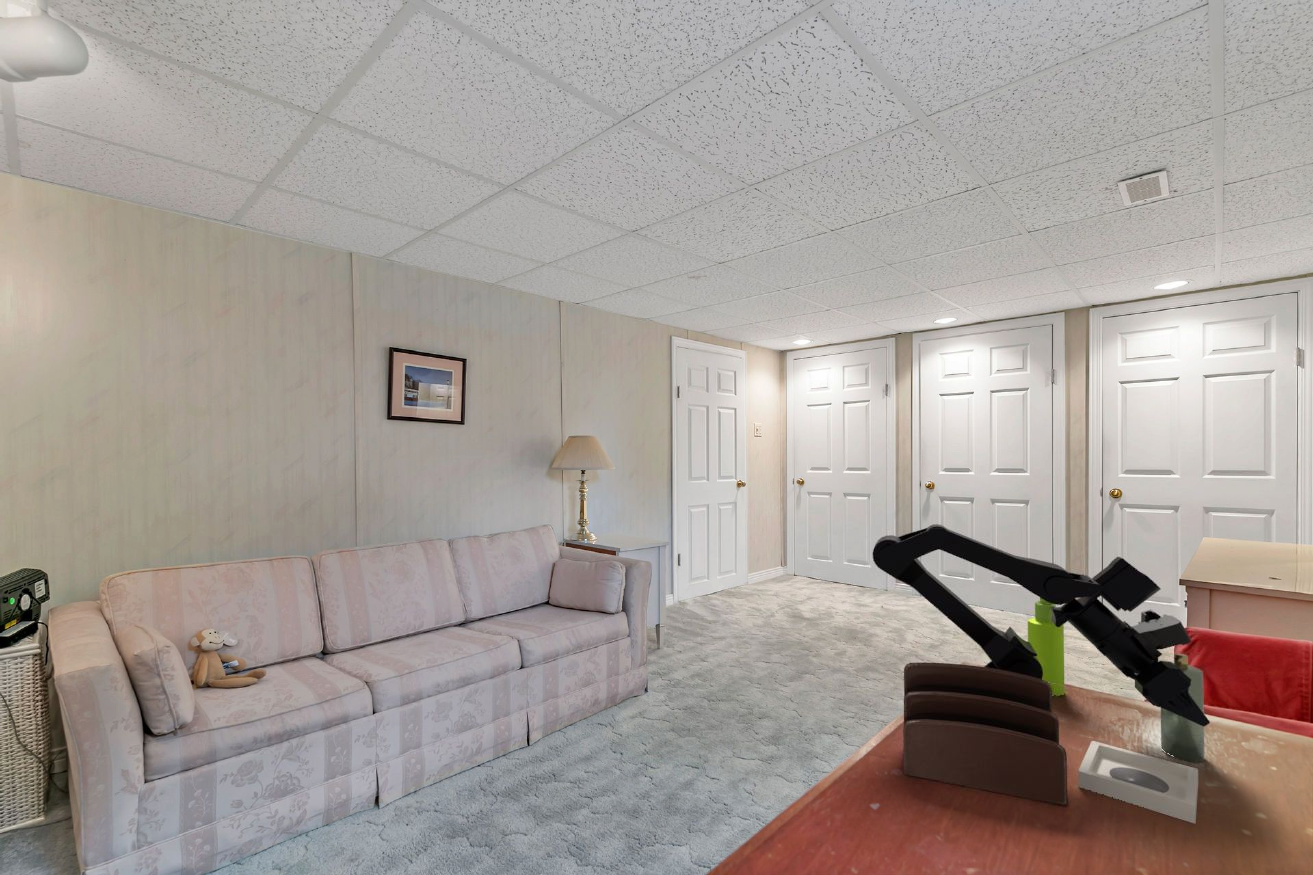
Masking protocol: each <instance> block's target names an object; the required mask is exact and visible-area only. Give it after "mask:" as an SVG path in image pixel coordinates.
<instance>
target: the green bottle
mask: <svg viewBox="0 0 1313 875" xmlns="http://www.w3.org/2000/svg"><path fill="white" fill-rule="evenodd" d="M1188 658H1189V656H1188V655H1187V654H1184V653H1180V652H1179V653H1178V652H1176V653H1173V662H1172V663H1173V664H1174V665H1175V666H1176V667H1178V668H1179V669H1180V670H1181V671H1182V672H1183V673H1185V674H1186V675H1187V676H1188V677H1189V678H1190V679H1191V685H1190V687H1189V691H1188V692H1189V694H1190V696H1191V697H1192V699H1193V700H1194V701H1195V703H1196V704H1197V705H1198V707H1199V708H1200V709H1201V711H1202V712H1203V713H1204V714H1205V707H1204V704H1205V703H1204V671H1203V670H1202V669H1200V668H1198V667H1195V666H1192V665H1189V659H1188ZM1160 739H1161V740H1160V749H1161V748H1162V749H1163V750H1164V751H1165V752H1166V753H1169V754H1170V755H1173V756H1174V757H1175V758H1174V757H1173V758H1174V759H1176V758H1178V759H1177V760H1180V761H1183V760H1184V761H1185V762H1189V763H1203V762H1204V761H1205V760H1206V758H1205V726H1201V725H1199V724H1197V723H1195V722H1192V721H1190V720H1188V719H1186V718H1184V717H1181V716H1179V715H1177V714H1175V713H1172V712H1170V711H1168V710H1165V709H1163V708H1161V707H1160ZM1184 761H1183V762H1184Z"/></svg>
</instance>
